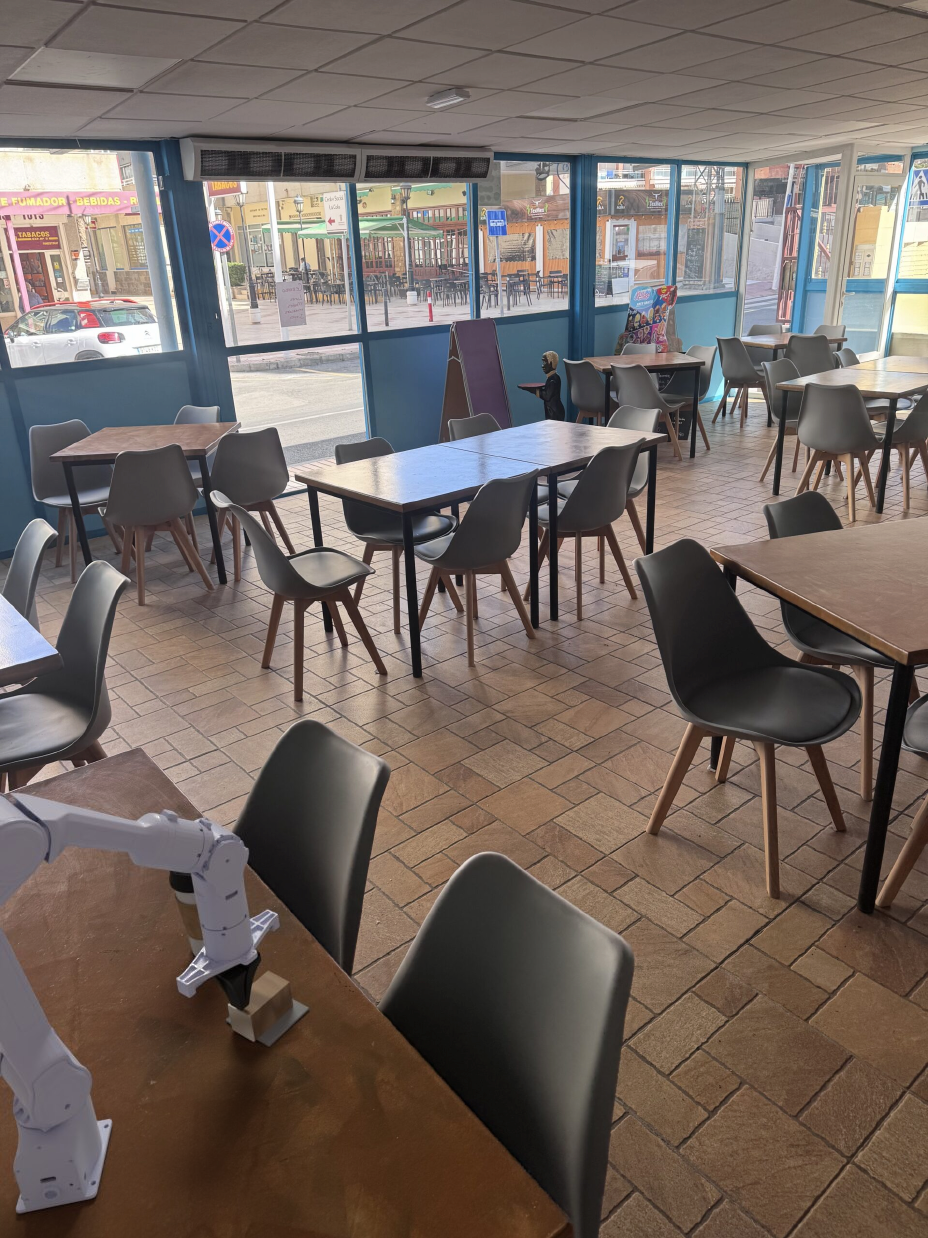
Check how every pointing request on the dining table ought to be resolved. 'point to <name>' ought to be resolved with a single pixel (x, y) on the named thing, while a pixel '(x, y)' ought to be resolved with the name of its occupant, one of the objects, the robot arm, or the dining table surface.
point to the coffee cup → (188, 908)
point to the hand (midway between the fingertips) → (240, 1004)
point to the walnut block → (262, 1006)
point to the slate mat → (281, 1023)
